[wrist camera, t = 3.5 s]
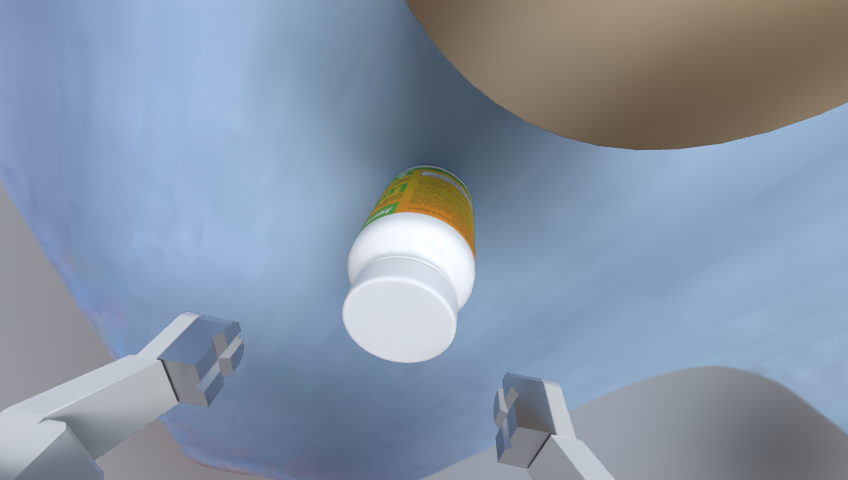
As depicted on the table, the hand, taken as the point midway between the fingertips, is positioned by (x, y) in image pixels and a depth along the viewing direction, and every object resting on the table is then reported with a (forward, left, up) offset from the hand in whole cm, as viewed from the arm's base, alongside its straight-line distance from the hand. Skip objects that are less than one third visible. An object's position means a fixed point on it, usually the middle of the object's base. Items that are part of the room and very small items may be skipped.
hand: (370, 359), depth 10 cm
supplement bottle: (-1, 0, -12) cm, 12 cm away
